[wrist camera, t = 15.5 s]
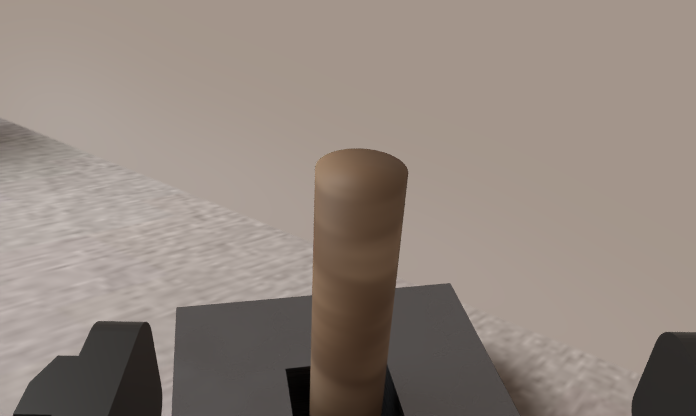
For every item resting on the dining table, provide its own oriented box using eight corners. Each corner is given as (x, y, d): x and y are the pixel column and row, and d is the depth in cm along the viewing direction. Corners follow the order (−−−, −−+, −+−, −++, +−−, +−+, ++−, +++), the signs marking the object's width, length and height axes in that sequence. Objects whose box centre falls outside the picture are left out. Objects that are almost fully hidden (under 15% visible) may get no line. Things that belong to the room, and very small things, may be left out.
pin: (365, 447, 30) (394, 146, 22) (380, 504, 28) (419, 189, 19) (303, 455, 30) (308, 150, 21) (313, 514, 27) (323, 195, 19)
